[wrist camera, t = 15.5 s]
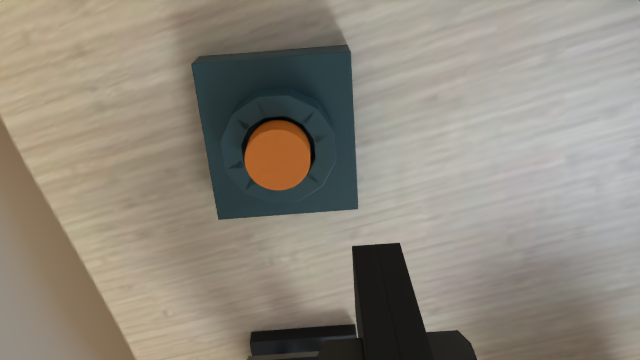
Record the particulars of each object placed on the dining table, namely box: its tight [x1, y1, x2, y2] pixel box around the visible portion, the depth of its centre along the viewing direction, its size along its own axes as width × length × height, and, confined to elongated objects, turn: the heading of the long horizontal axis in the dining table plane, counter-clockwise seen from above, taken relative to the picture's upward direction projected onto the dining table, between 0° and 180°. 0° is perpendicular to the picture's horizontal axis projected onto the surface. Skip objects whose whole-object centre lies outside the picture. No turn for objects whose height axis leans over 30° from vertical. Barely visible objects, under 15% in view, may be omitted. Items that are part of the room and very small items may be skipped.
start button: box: [244, 120, 310, 190], centre depth 29 cm, size 4×4×2 cm
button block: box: [192, 45, 358, 220], centre depth 31 cm, size 10×9×4 cm
